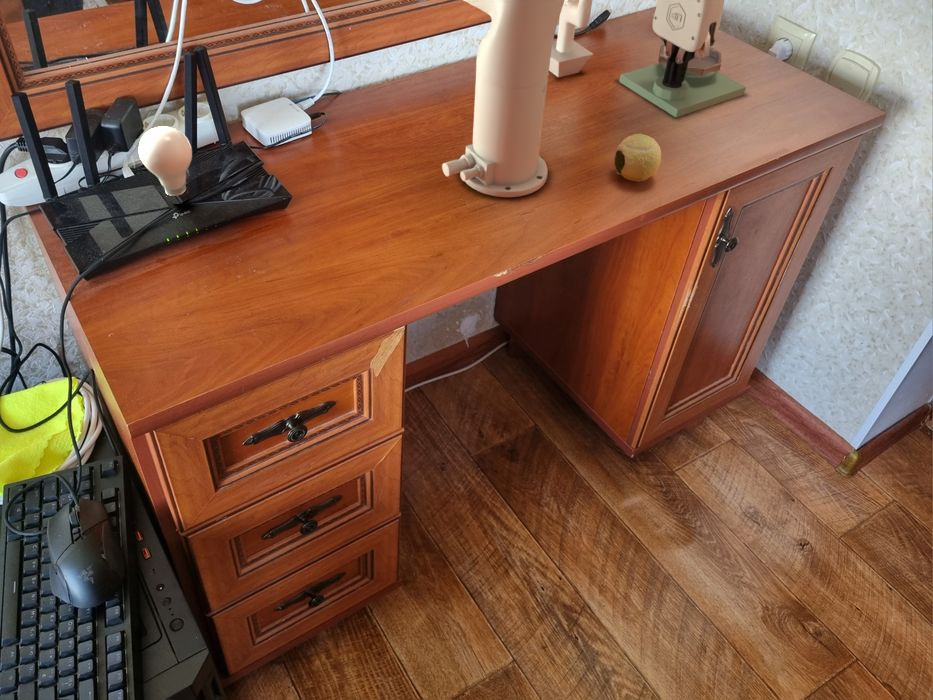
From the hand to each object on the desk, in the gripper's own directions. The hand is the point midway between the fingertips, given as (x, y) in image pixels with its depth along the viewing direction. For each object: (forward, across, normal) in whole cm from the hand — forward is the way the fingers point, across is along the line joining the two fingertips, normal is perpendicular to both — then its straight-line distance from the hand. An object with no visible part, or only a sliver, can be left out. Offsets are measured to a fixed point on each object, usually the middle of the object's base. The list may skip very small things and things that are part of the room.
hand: (673, 82), depth 129 cm
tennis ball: (+3, +15, -21) cm, 26 cm away
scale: (+3, -2, +5) cm, 6 cm away
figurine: (+3, -18, -9) cm, 20 cm away
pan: (0, -4, +7) cm, 8 cm away
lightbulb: (+3, -12, -80) cm, 80 cm away
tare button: (+2, 0, 0) cm, 2 cm away
